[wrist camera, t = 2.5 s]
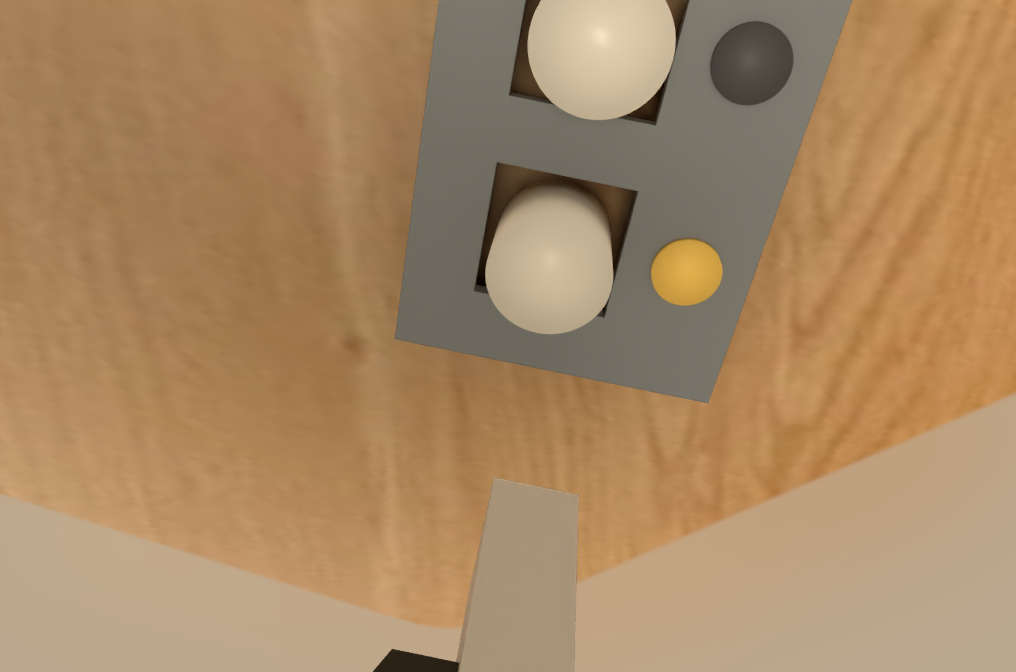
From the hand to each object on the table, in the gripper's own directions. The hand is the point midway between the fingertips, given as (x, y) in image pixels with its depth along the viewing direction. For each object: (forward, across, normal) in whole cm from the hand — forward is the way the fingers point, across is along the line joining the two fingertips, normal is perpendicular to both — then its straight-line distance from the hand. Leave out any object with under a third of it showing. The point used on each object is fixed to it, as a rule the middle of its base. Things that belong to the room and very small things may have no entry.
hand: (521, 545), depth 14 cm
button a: (+16, 0, 0) cm, 16 cm away
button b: (+16, 0, +7) cm, 17 cm away
